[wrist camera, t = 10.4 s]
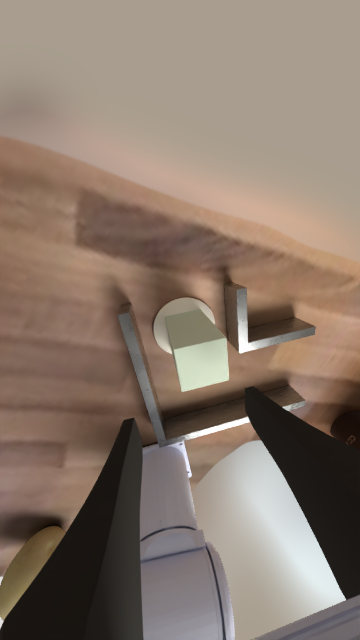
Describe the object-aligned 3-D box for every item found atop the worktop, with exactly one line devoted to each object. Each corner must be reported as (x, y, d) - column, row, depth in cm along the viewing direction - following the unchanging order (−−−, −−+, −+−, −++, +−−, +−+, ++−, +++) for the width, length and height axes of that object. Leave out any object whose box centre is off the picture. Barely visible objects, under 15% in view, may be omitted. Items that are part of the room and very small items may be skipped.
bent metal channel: (288, 390, 28) (304, 406, 25) (158, 426, 26) (159, 447, 23) (299, 268, 21) (323, 271, 18) (121, 305, 19) (117, 315, 16)
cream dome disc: (216, 346, 22) (217, 347, 22) (160, 360, 22) (160, 361, 22) (211, 291, 20) (211, 292, 20) (146, 304, 19) (147, 305, 19)
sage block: (204, 340, 22) (229, 380, 15) (170, 348, 21) (181, 392, 15) (200, 309, 20) (226, 337, 14) (164, 316, 20) (173, 349, 13)
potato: (14, 539, 29) (-31, 637, 22) (40, 510, 28) (1, 605, 20) (60, 545, 32) (35, 634, 24) (86, 519, 30) (67, 605, 23)
